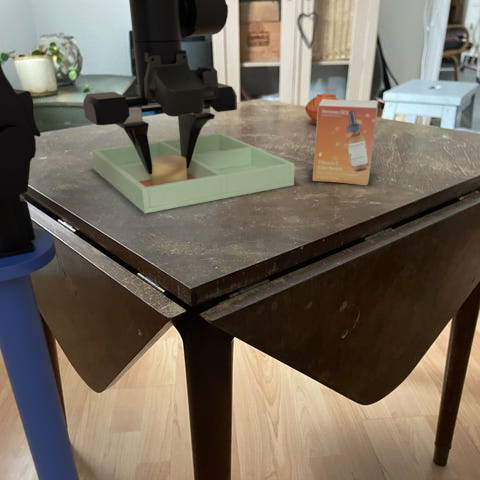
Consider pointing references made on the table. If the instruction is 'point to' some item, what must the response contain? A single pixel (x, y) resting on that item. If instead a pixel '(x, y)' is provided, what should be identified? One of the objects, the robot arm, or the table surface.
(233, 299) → the table surface
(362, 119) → the small box
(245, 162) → the grid
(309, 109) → the pot
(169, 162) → the cylinder
